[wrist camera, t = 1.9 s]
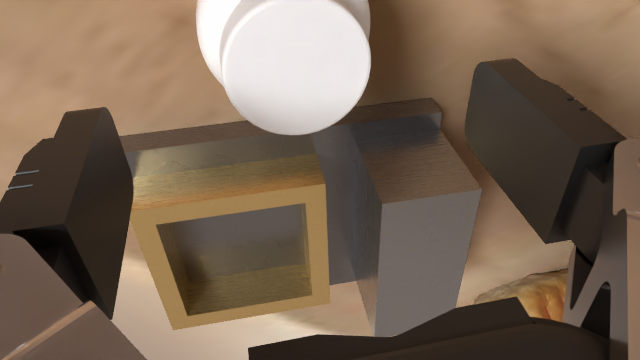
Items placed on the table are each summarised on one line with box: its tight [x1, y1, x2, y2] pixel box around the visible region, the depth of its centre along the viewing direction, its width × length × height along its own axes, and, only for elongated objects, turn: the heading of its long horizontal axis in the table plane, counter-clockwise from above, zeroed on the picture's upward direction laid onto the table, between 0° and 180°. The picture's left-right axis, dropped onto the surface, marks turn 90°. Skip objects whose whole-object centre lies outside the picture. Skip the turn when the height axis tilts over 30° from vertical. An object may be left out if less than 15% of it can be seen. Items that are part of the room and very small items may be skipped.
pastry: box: [474, 269, 568, 322], centre depth 37 cm, size 9×7×4 cm
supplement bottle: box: [196, 0, 371, 135], centre depth 16 cm, size 5×5×10 cm
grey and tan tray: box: [119, 98, 482, 337], centre depth 26 cm, size 16×12×6 cm
